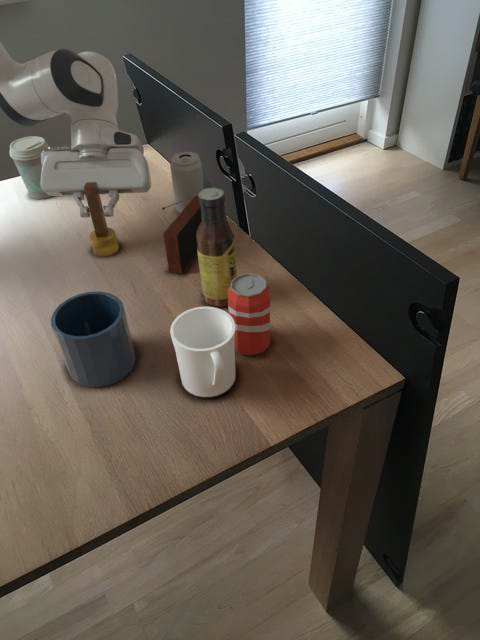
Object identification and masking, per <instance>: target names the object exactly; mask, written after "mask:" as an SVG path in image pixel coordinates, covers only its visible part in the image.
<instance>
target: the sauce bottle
mask: <svg viewBox="0 0 480 640" xmlns="http://www.w3.org/2000/svg"><path fill="white" fill-rule="evenodd" d="M225 194H226V193H225V191H224V190H223V189H221V188H218V187H207V188H204V190H202V191H200V192H199V194H198V200H199V204H200V206H201V219H202V222H201V224H200V225H199V228H198V230H197V233H196V239H197V246H198V247H197V252H198V254H197V258H198V259H197V260H198V268H199V277H200V284H201V285H200V286H201V292H202V297H203V300H204V301H205V302H206V303H207V304H208V305H209V306H211V307H214V308H218V307H220V308H221V307H226V306H227V307H228V288H229V287H230V286H231V281H232V280H233V279H234V278H235V277H237V276H238V264H237V252H236V251H237V250H236V236H235V233H234V231H233V230H232V227H231V226H230V223H229V221H228V219H227V216H226V210H225V209H226V208H225V203H226V196H225Z"/></svg>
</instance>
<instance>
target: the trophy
mask: <svg viewBox="0 0 480 640" xmlns="http://www.w3.org/2000/svg"><path fill="white" fill-rule="evenodd" d="M84 191H85V195H84V196H85V199H86V202H87V206H88V208H89V211H90V218H91V222H92V225H93V229H94V230H92V231H91V232H90V233H89V236H88V237H89V240H90V245H91V248H92V252H93V254H94V255H95V256H98V257H109V256H112V255H114V254H116V253H117V252H118V251H119V249H120V246H119V243H118V241H119V240H118V237H117V233H116V230H115V229H114V228H112V227H108V224H107V219H106V217H105V216H104V214H103V211H104V209H103V203H102V199H101V194H99V190H98V186H97V182H87V183H85V186H84Z"/></svg>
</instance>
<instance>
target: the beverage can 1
mask: <svg viewBox="0 0 480 640" xmlns="http://www.w3.org/2000/svg"><path fill="white" fill-rule="evenodd" d="M170 161H171V162H170V164H169V166H170V175H171V181H172V188H173V189H172V190H173V197H174V204H175V203H177V202H180V201H182V200H185V199H187V198H190V197H192V196H194V195H196V194H197V193H198V192H199V191H200V190H204V189H205V186H204V175H203V163H202V160H201V159H200V155H199V154H198V153H196V152H194V151H181V152H177V153H175V154H173V155H172V157H171V159H170ZM193 198H194V197H193ZM193 198H191V199H188V200H186V201H183V202H181V203H178V204H175V205H174V206H175V210H176V211H177V212H178V213H179V214H180V213H181V212H182V211H183V210H184V208H185V207H186V206H187V205H188V204H189V203H190V201H191V200H192V199H193Z"/></svg>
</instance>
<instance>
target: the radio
mask: <svg viewBox="0 0 480 640" xmlns="http://www.w3.org/2000/svg"><path fill="white" fill-rule="evenodd" d="M200 191H202V190H200ZM200 191H199V192H200ZM199 192H198V193H197V194H196V195H194V196H192V197H190V198H187V199H185V200H182V201H180V202H177V203H175V202H174V203H173V204H169V205H167V206H164V207H162V208H161V209H162V210H163V211H164V210H166V209H168V208H170V207H172V206H176V205H175V204H178V203H181V202H183V201H186V200H188V199H191V198H193V197H194V198H193V199H192V200H191V201H190V203H189V204H188V205H187V206H186V207H185V208H184V210H183V211H182V212H181V213H180V212H179V214H178V215H177V216H176V218H175V219H174V220H173V221H172V222H171V223H170V224H169V226H168V227H167V228H166V229H165V230H164V231H163V234H162V235H163V236H162V237H163V241H164V247H165V248H164V249H165V253H166V254H165V255H166V260H167V266H168V267H167V268H168V271H169V272H171V273H175V274H180V275H184V274H185V272H186V271H187V269H189V266H191V264H192V263H193V261H194V260H195V258H196V257H198V252H197V247H198V246H197V239H196V233H197V230H198V228H199V225H200V224H201V222H202V219H201V206H200V204H199V200H198V194H199Z"/></svg>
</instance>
